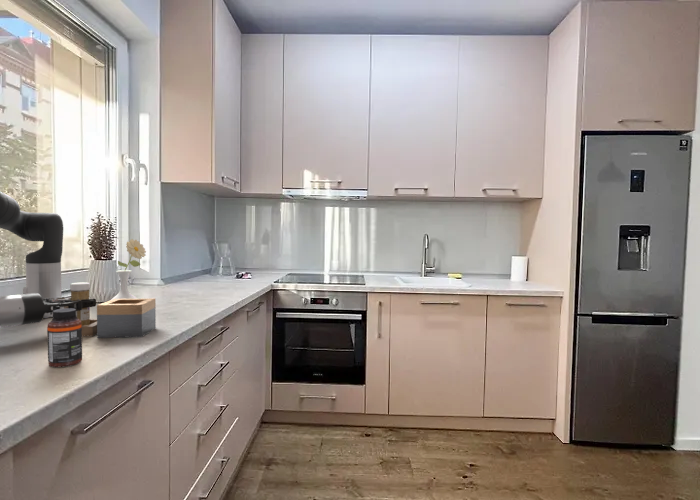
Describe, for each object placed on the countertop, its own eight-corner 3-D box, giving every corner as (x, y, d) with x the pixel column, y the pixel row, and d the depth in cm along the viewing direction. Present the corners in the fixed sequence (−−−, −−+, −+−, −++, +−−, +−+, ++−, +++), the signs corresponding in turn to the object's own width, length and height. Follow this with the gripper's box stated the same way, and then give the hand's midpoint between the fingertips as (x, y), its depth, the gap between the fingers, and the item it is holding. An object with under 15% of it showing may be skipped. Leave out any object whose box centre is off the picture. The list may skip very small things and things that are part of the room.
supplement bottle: (58, 359, 92) (58, 307, 91) (88, 359, 92) (87, 307, 92) (41, 368, 86) (40, 312, 85) (72, 368, 86) (71, 312, 86)
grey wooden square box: (97, 337, 111) (96, 305, 110) (114, 328, 122) (114, 298, 121) (142, 337, 112) (141, 304, 112) (155, 327, 123) (155, 298, 123)
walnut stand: (47, 336, 111) (47, 327, 111) (69, 327, 122) (69, 319, 122) (92, 336, 112) (92, 326, 112) (110, 327, 123) (110, 318, 123)
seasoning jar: (90, 332, 117) (90, 283, 116) (70, 334, 114) (70, 284, 114) (89, 329, 120) (89, 281, 120) (70, 331, 118) (70, 282, 117)
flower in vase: (114, 314, 143) (113, 239, 142) (100, 309, 150) (99, 238, 149) (152, 308, 153) (152, 239, 152) (137, 305, 160) (137, 238, 160)
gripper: (28, 297, 101) (103, 290, 115) (6, 292, 109) (79, 285, 123) (28, 329, 101) (104, 317, 115) (6, 321, 109) (79, 311, 123)
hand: (90, 301), depth 119 cm, fingers closed on seasoning jar, 4 cm apart
